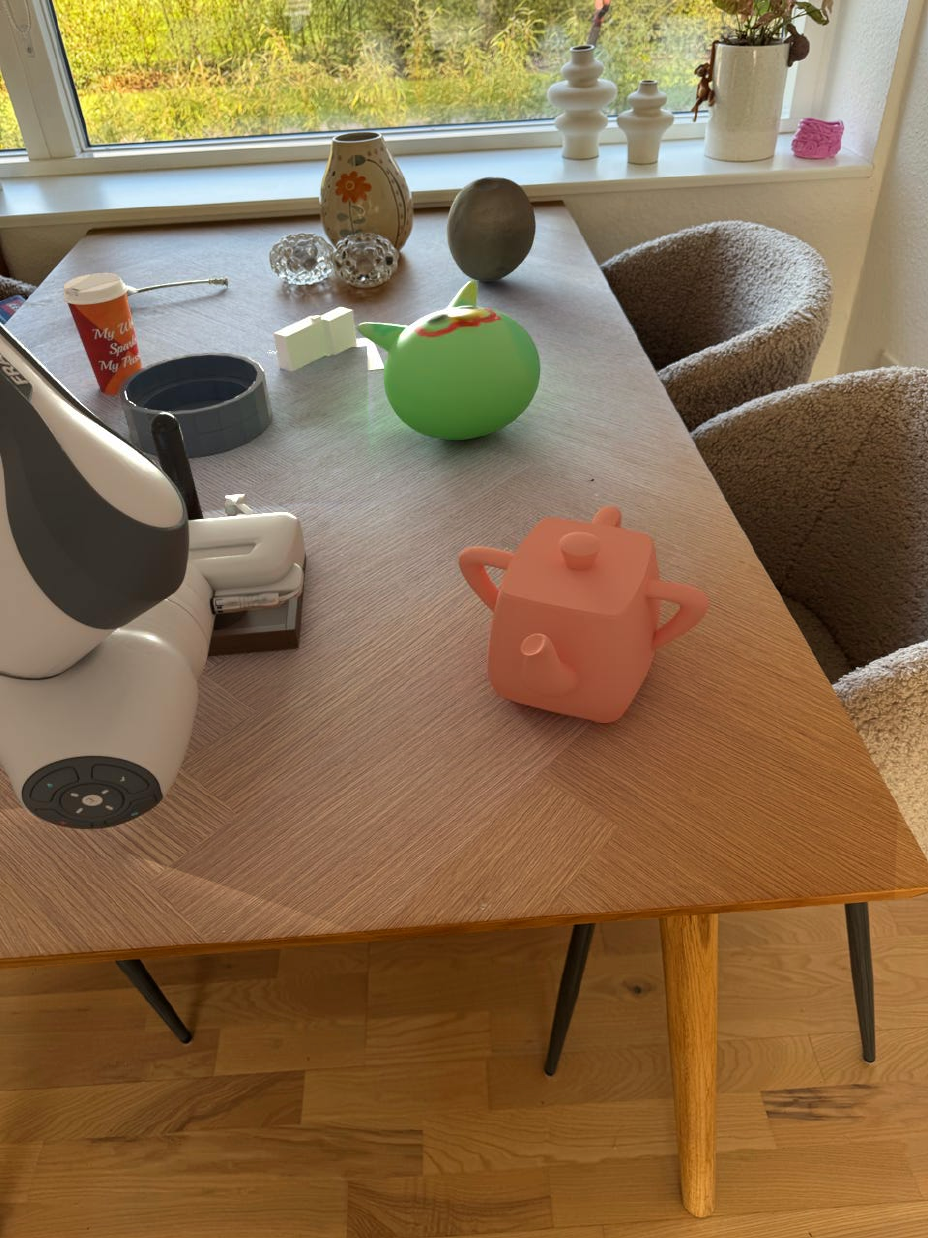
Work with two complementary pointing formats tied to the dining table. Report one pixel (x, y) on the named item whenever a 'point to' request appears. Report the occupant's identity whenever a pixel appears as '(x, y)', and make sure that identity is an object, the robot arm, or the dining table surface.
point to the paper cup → (104, 327)
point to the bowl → (199, 401)
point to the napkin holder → (321, 340)
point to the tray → (261, 629)
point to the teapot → (577, 615)
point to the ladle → (182, 480)
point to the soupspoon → (214, 281)
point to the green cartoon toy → (458, 369)
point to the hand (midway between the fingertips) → (177, 507)
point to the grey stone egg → (490, 228)
